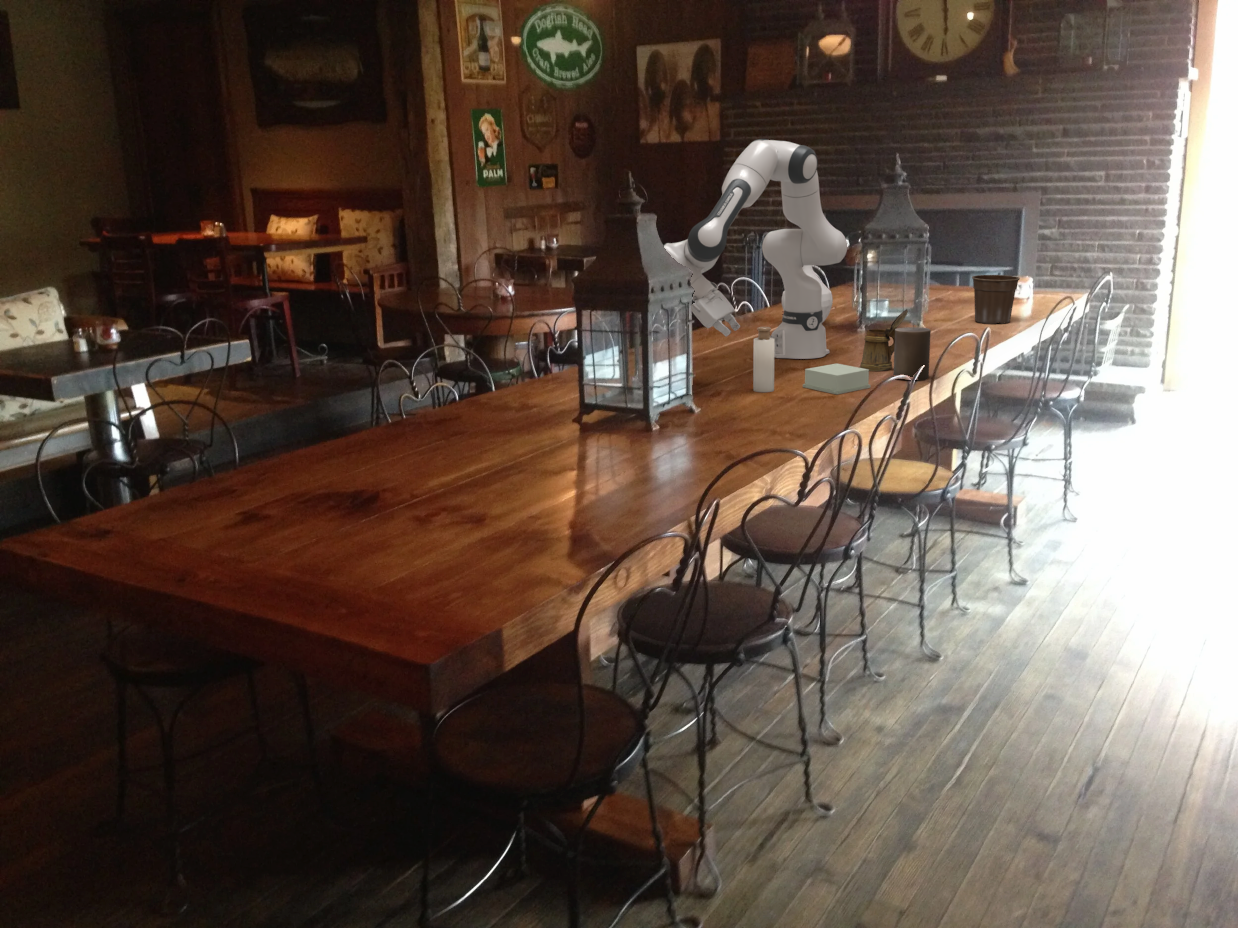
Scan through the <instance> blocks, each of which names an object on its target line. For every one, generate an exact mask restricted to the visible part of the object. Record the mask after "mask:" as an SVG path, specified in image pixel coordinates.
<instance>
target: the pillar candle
mask: <svg viewBox="0 0 1238 928" xmlns="http://www.w3.org/2000/svg"><path fill="white" fill-rule="evenodd" d="M930 349H931V329H930V328H927V327H919V326H917V327H915V326H914V324H912V326H910V327H908V326H906V327H897V329H895V349H894V352H893V375H900V374H904V375H908V376H910V377H913V375H914V374H915V373H916V372H917V371H918V369H919V368H920V367H921V366H923V365H925V367H924V368H923V370H922V372H921V373H920V375H919V377H918V380H917V381H926V380H928V379H929V377H930V376H929V375H930V353H931V350H930Z"/></svg>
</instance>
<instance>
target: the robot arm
mask: <svg viewBox="0 0 1238 928" xmlns="http://www.w3.org/2000/svg"><path fill="white" fill-rule="evenodd" d="M818 162H819V161H818V157H817V154H816V152H815V150H814V149H812V148H811V147H809V146H807V145H805V144H802V145H801V144H798V143H794V142H791V141H786V140H774V139H770V140H769V139H767V138H759V139H755V140H753V141H751V142H750V143H749V144H748V146H747V147H746V148H745V149H743V151H742V152H741V153H740V155H739V156H738V157H737V158H736V160H735V162H734V163H733V164H732V166H731V167H730V169H729V171H728V172H727V174H726V175H725V178H724V180H723V183H722V186H721V193H722V195H721V197H720V198H719V200H717V203H716V204H715V206H714V207H713V209H712V210H711V212H710V213H709V214H708V216H707V217H705V218H704V219H703V220H701V221H699V222H698V223H696V224H695V225H694V226H693V227H692V228H691V230H690V231H689V232H688V233H689V234H688V237H687V239H685V240H682V241H678V242H672V243H671V242H666V243H664V244H663V245H662V246H664V248H665V249H666V251H667V252H668V253H669V254H670V255H671V257H672V258H674V259H675V260H676V261H677V262H678V263H680V264H682V265H683V266H686V267H688V268H690V269H691V270H692V271H693V275H692V277H691V281H690V282H691V286H692V287H693V288H694V290H695V292H694V294H693V300H694V301H695V303H693V304H692V305H691V310H690V311H691V312H692V314H693V315H694V316H695V317H696V319H698V320H699V322H700V323H701V324H702V325H703V326H704V327H706V328H707V329H710V328H711V327H713V328H715V330H717V331H718V332H720V333H721V334H723V336H725V337H728V336H730V334H732V330H733V331H735V332H736V331H737V330H739V329H740V328H741V325H740V323H738V322H737V320H736V318H735V316H734V315H733V313H734V311H735V308H734V307H733V305H732V303H731V302H730V301H729V300H728V299H727V297H726V296H725V295H724V294H723V292H721V291H720V290H718V289H719V286H718V285H717V284H716V283H715V282H712V281H710V280H708V279H707V278H706V277H705V276H704V275H703V274H704V273H706V272H707V271H709V270H710V269H712V268H713V267H714V266H715V265H716V262H717V261H718V259H719V258H720V256H721V254H722V253H723V252H724V250H725V248H726V245H727V240H728V231H729V229H730V227H731V225H732V224H733V222H734V221H735V219H736V217H738V215H739V213H740V211H741V210H742V209H743V208H744V209H745V208H749V207H751V206H752V205H754V203H756V201H757V200H758V199H759V198H760V196H761V195H762V194H763V192H764V191H765V189H766V188H767V186H768V185H769V182H770V180H771V181H774V182H780V189H781V190H780V191H781V201H782V202H781V203H782V213H783V215H784V217H785V218H786V219H787V221H789V222H790V223H792V224H794V225H796V226H798V227H799V228H782V229H776V230H772V231H769V232H768V233H767V234H766V235H765V236H764V238H763V241H762V245H761V247H762V248H761V250H762V255H763V257H764V258H765V261H767V262H768V263H769V264H771V265H772V266H773V267H774V268H775V269H776V271H777V273H778V274H779V275H780V277H781V279H782V283H783V287H784V291H785V311H784V310H783V311H781V313H782V314H781V315H782V319H781V321H782V322H781V323H780V324H779V325H778V326H777V327H776V328H775V329H774V330H773V331H772V333H771V335H770V338H774V339H775V346H774V359H794V360H799V359H800V360H802V359H803V360H804V359H805V360H809V359H818V358H823V357H826V355H828V354H830V349H828V348H827V337H826V328H825V327H826V326H824V325H823V323H821V322H822V321H823V311H822V310H821V297H822V288H821V285H820V283H819V282H818V281H817V280H815V279H814V278H812V277H810V276H808V275H806V274H805V273H804V271H803V266H804V265H812V266H829V265H834V264H839V263H841V262H842V260H843V259H844V258H845V256H846V255H847V251H848V241H847V239H846V236H845V235H844V234H843V232H842V231H840V230H839V229H837V228H835V227H834V226H833V225H832V224H831V223H830V222H829V220H828V219H827V218H826V216H825V214H824V213H823V208H822V203H821V202H822V201H821V197H820V183H819V182H820V181H819V175H818V166H819V165H818V164H819V163H818ZM722 321H725V322H726V323H728V324H729V326H730V328H731V329H732V330H731V329H730V328H729V327H727V326H726V325H725V324H723V322H722Z"/></svg>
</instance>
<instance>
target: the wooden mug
mask: <svg viewBox="0 0 1238 928" xmlns="http://www.w3.org/2000/svg"><path fill="white" fill-rule="evenodd" d="M908 313H909V310H908V308H906V309H905V310H903V311H902V312H900V314H898V316H897V317H896V318H895V319H894V320H893V322H892V323H891V326H890V328H886V329H882V328H872V329H867V330H866V334H865V336H864V347H863V351H862V352H863V353H862V356H861V357H862V358H861V361H860V365H859V368H863V369H869V371H870V372H885V371H890V370H892V368H893V362H892V361H891V360H892V357H893V355H894V349H895V329H897V328H899V326H900V325H901V324H902V322H903V321H904V319H905V318H906V317H907V315H908ZM891 339H892V342H893V343H892V344H890V345H889V341H891Z"/></svg>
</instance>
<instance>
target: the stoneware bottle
mask: <svg viewBox="0 0 1238 928" xmlns="http://www.w3.org/2000/svg"><path fill="white" fill-rule="evenodd" d="M756 328H757V331H758V337H755V338H753V362H752V363H753V366H752V367H753V369H752V370H753V371H752V372H753V375H752V376H753V377H752V381H753V384H752V385H753V386H752V387H753V389H752V390H753V392H755V393H756V392H757V393H770V392H774V391H775V357H774V346H775V339H774V338H770V336H771V335H770V334H771V332H770V331H772V327H770V326H760V327H759V326H758V327H756Z"/></svg>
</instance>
